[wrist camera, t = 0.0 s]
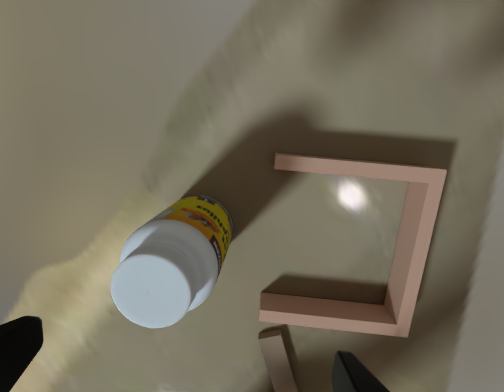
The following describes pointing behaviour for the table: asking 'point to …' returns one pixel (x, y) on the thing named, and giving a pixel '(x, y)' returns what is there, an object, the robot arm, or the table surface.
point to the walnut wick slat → (277, 361)
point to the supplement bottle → (172, 262)
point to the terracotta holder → (404, 262)
